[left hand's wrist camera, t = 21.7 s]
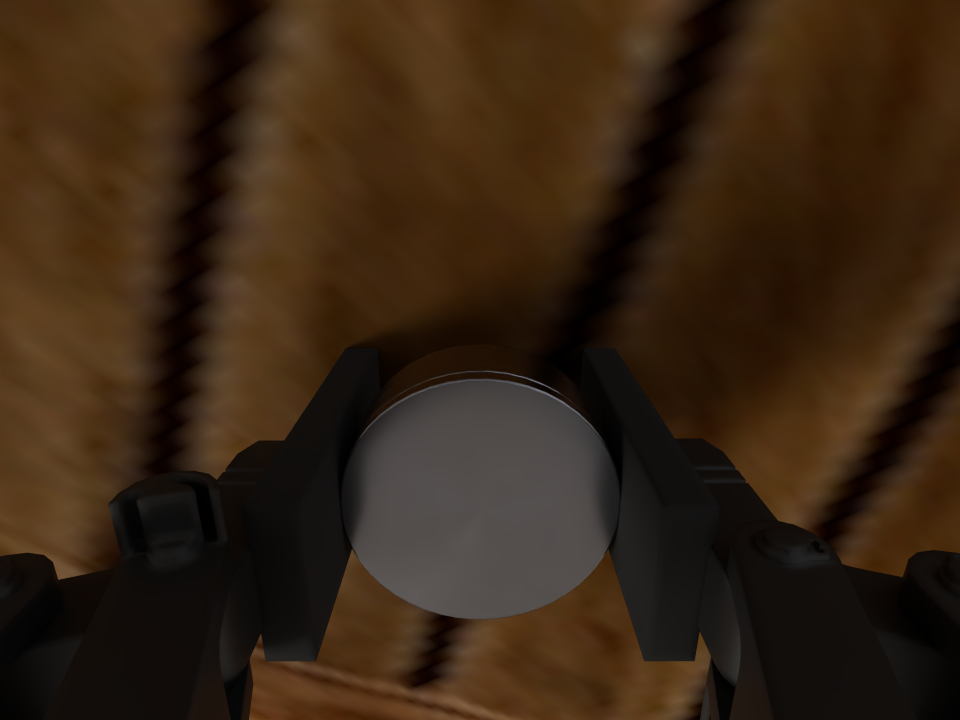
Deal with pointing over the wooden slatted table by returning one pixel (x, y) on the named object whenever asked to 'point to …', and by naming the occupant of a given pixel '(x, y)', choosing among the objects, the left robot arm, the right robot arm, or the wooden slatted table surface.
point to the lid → (480, 484)
